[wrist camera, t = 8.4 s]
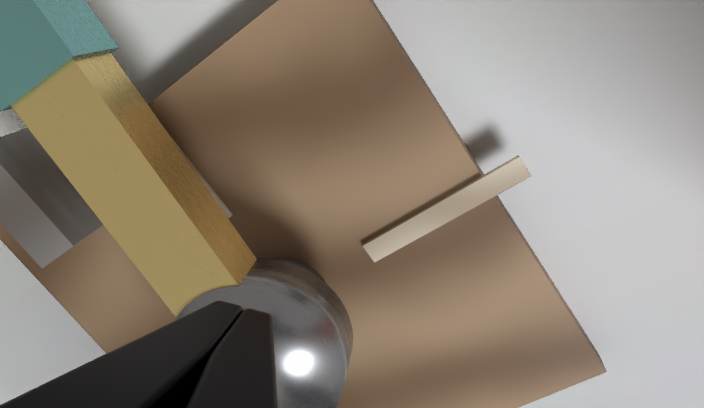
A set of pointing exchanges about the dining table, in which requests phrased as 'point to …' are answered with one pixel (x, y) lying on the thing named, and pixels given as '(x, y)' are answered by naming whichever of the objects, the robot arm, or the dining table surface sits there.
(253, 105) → the base
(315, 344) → the metal scoop
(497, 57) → the dining table surface
